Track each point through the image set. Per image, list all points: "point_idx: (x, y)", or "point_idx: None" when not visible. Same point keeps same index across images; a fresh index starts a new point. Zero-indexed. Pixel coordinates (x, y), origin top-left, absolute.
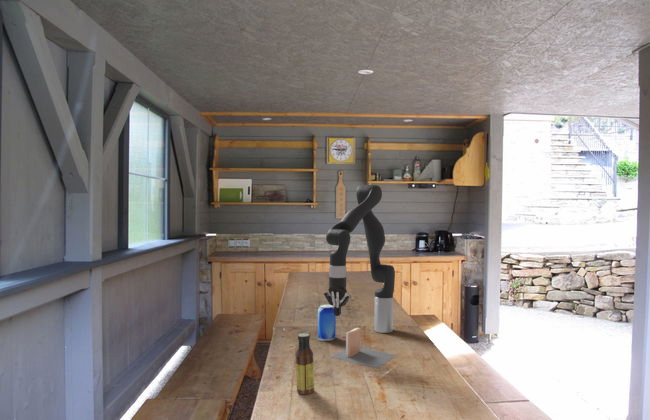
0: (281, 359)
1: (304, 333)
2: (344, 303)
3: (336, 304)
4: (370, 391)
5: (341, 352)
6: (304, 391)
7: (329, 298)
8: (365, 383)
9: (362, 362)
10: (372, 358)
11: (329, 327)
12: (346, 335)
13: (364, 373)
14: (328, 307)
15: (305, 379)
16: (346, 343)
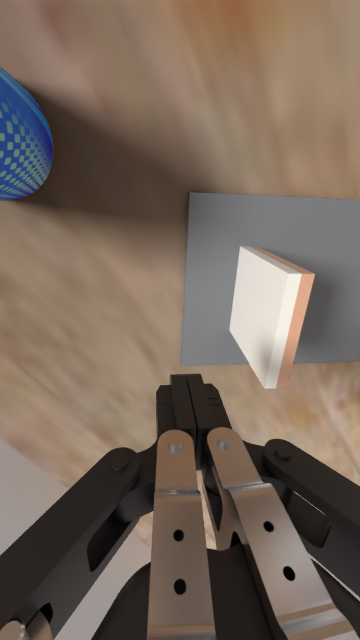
0: (50, 443)
1: None
2: (326, 522)
3: (208, 508)
4: (357, 461)
5: (193, 301)
6: None
7: (82, 592)
8: (338, 439)
9: (301, 345)
10: (326, 294)
11: (14, 176)
12: (261, 379)
13: (323, 396)
14: None
15: None
16: (247, 356)
